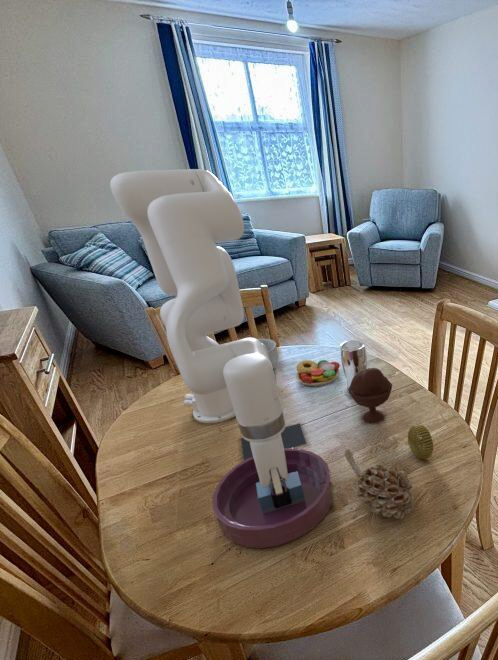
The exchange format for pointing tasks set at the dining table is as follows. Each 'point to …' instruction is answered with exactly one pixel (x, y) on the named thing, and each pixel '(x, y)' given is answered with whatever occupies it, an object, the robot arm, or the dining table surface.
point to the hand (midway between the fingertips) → (281, 495)
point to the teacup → (271, 350)
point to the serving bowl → (280, 525)
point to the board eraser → (291, 483)
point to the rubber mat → (290, 439)
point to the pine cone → (383, 489)
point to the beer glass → (353, 359)
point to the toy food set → (317, 372)
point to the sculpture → (420, 441)
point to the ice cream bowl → (370, 392)
